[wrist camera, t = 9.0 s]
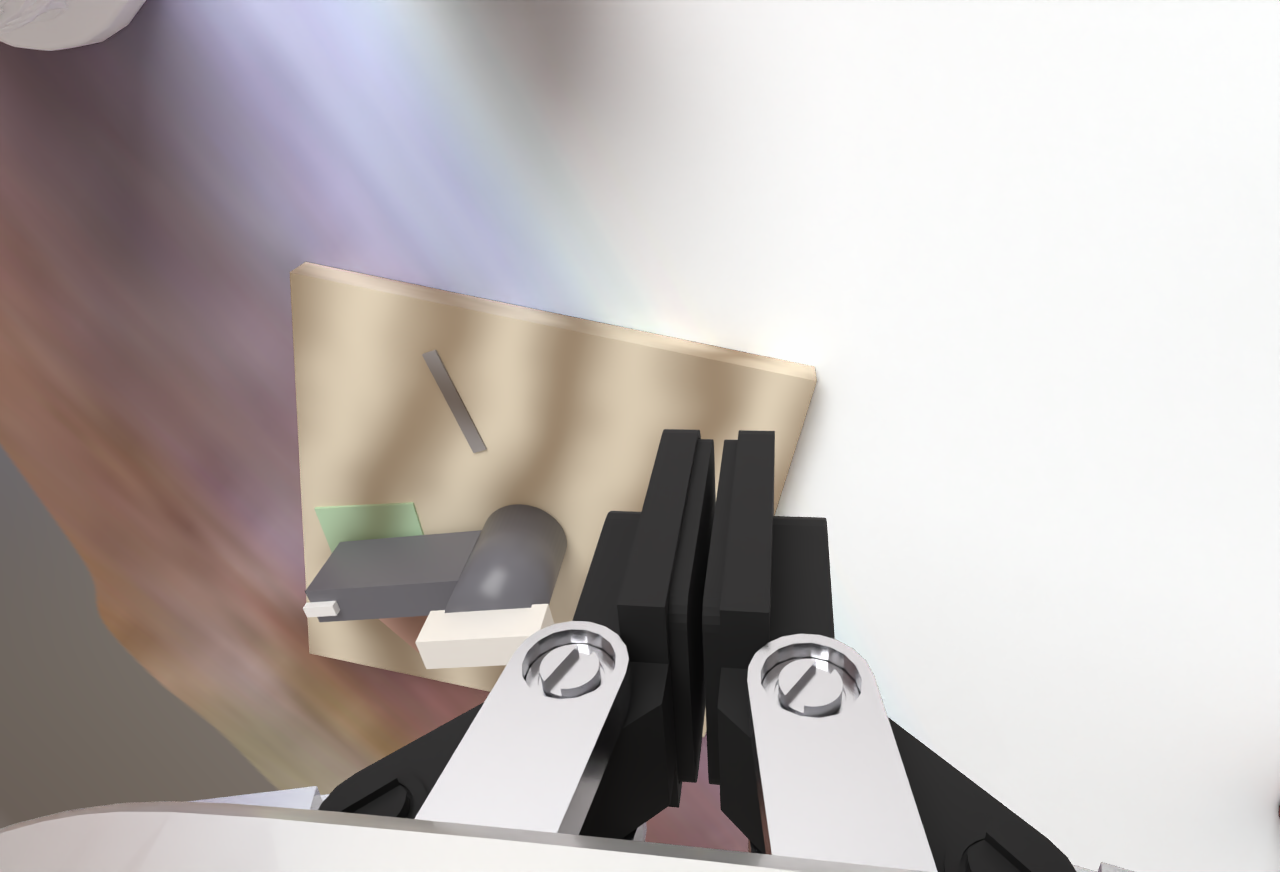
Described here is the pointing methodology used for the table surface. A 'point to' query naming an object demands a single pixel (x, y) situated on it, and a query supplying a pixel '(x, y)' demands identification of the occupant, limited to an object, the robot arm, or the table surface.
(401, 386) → the board
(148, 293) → the table surface
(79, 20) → the decorative container
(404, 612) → the faucet
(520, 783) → the robot arm
